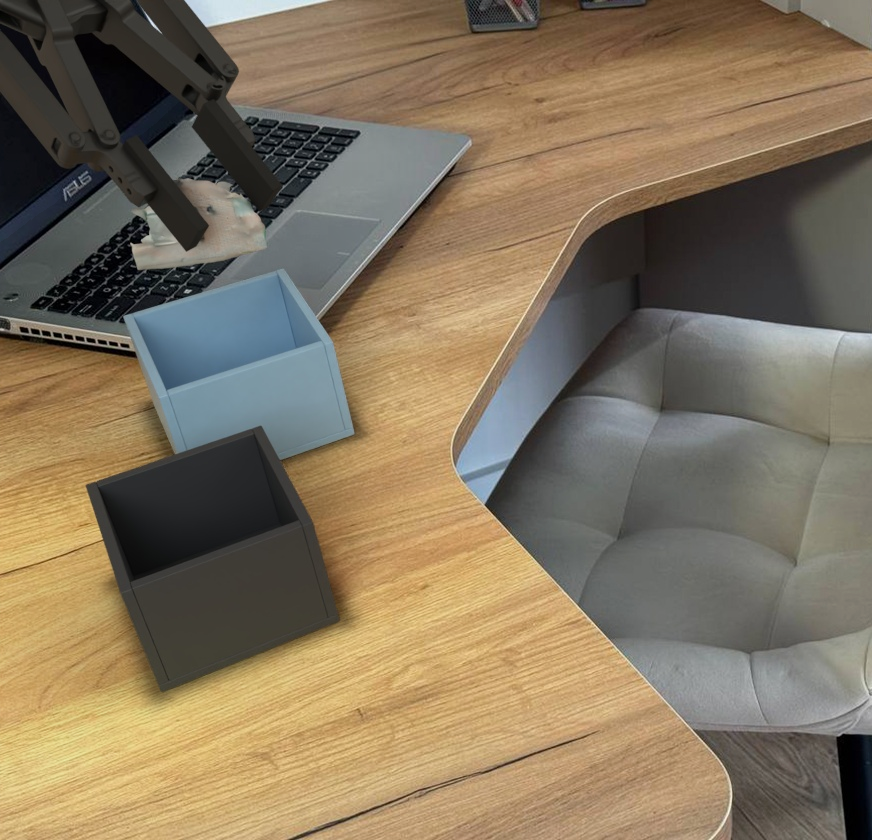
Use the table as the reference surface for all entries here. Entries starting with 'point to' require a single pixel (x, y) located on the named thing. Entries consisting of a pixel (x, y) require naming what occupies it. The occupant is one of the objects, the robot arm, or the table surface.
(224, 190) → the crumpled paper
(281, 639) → the waste bin
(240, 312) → the paper bin
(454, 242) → the table surface
